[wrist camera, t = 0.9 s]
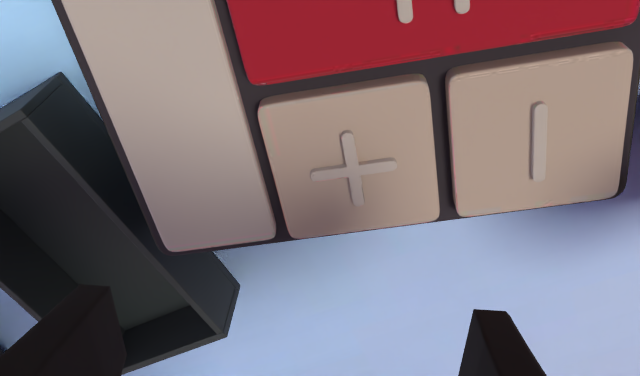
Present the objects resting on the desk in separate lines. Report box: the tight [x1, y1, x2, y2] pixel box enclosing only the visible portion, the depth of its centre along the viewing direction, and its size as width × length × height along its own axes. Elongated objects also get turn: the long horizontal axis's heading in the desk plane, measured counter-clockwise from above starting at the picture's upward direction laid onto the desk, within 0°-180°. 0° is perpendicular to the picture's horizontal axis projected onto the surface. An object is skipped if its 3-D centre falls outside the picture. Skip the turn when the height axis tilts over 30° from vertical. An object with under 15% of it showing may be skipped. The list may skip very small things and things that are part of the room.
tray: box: [0, 72, 240, 375], centre depth 23 cm, size 11×6×3 cm, turn 30°
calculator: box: [51, 0, 640, 256], centre depth 17 cm, size 11×4×15 cm
